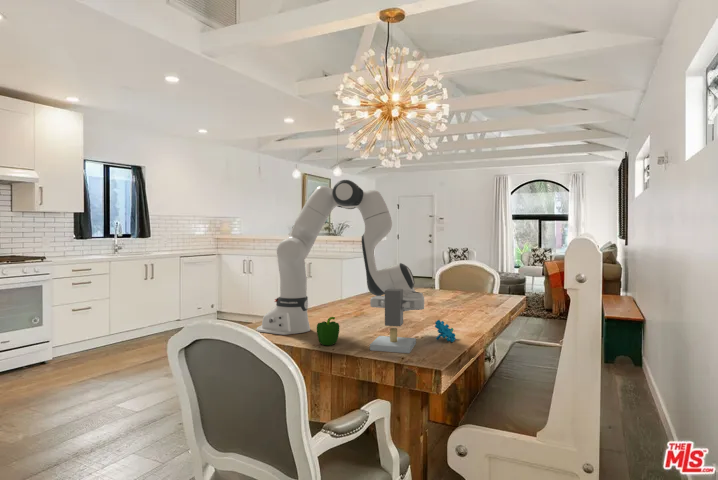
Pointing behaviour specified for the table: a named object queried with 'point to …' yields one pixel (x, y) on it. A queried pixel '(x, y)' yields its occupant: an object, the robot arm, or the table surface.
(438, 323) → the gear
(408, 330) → the table surface
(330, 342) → the bell pepper
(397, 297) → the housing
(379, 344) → the base plate
